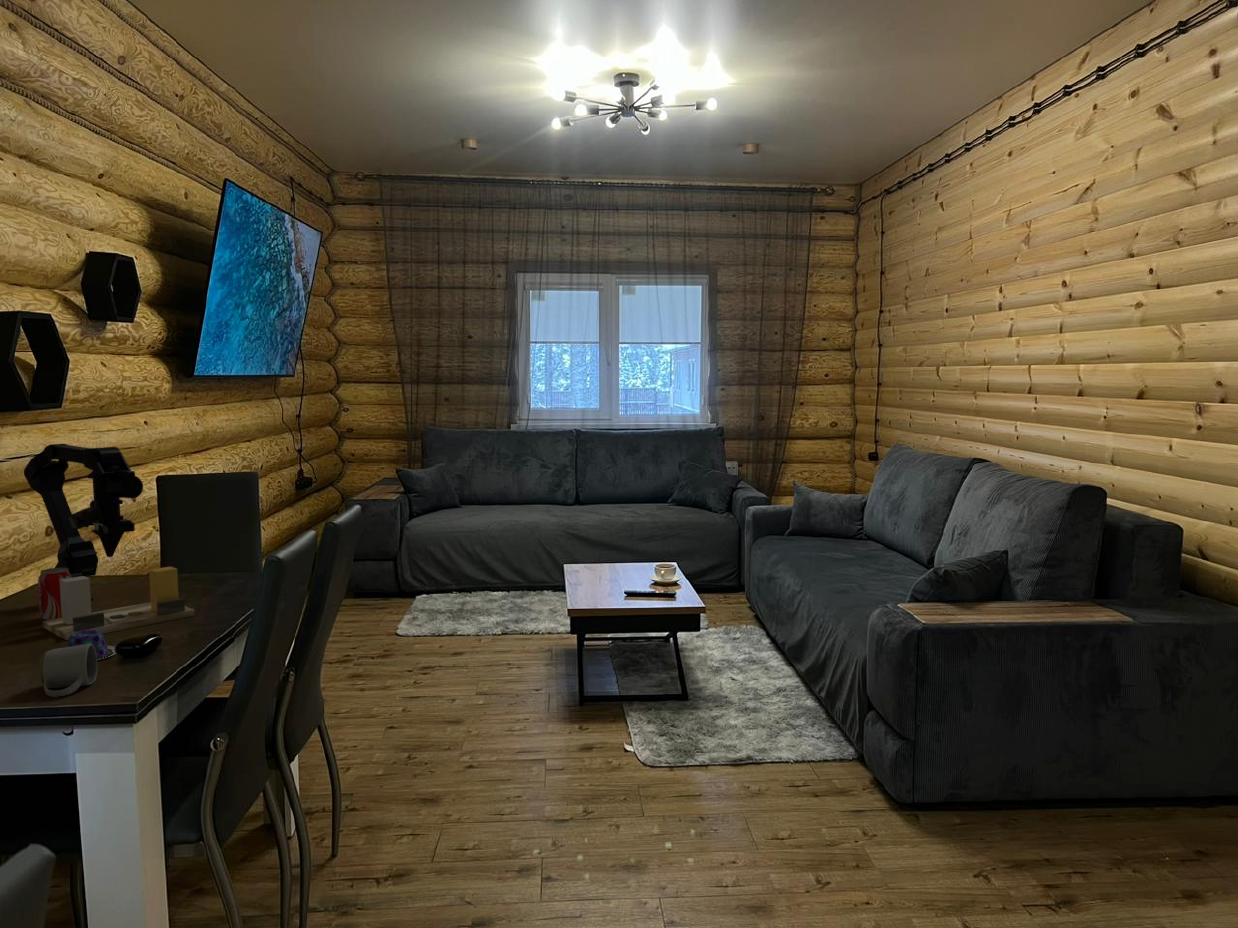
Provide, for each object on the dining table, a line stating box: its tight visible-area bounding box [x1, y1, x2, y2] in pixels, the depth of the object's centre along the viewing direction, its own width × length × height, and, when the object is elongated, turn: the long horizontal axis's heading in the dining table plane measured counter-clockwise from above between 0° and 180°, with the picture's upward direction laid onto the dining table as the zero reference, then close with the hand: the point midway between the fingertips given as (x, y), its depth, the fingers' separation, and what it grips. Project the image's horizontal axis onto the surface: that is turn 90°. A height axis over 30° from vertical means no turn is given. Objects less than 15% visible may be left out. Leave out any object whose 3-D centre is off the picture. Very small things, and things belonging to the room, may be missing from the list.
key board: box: [42, 597, 195, 641], centre depth 209 cm, size 16×28×4 cm, turn 139°
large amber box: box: [148, 566, 180, 612], centre depth 213 cm, size 4×5×10 cm
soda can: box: [37, 567, 72, 621], centre depth 212 cm, size 7×7×12 cm
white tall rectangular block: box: [60, 576, 93, 625], centre depth 203 cm, size 4×5×10 cm
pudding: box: [66, 630, 117, 661], centre depth 182 cm, size 12×12×5 cm
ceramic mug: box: [38, 644, 98, 698], centre depth 163 cm, size 11×8×8 cm
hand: (109, 556), depth 222 cm, fingers closed
